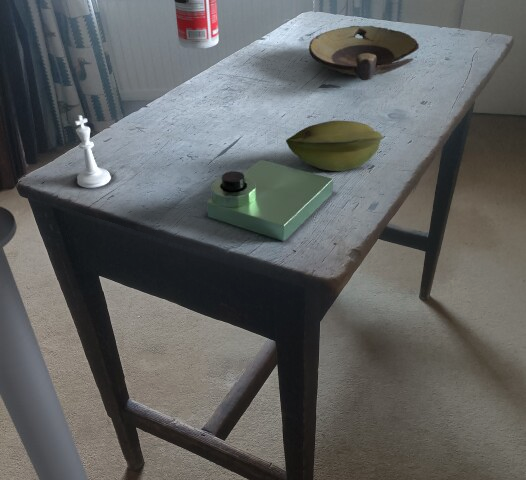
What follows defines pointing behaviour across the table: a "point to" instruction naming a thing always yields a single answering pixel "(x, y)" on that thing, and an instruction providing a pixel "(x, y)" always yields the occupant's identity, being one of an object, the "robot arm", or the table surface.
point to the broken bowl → (362, 50)
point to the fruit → (335, 145)
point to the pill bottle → (197, 24)
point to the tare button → (233, 181)
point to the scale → (270, 199)
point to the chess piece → (89, 160)
